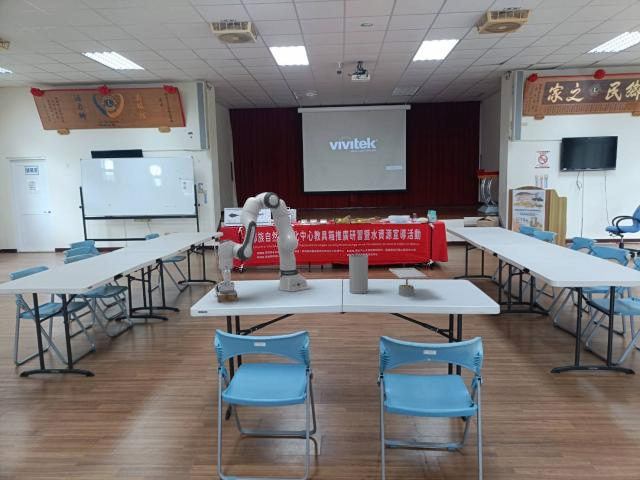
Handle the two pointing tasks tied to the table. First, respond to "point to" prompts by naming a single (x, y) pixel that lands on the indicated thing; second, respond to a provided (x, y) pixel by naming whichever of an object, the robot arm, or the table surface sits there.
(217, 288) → the hinge
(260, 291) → the table surface
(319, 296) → the table surface
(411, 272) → the solar panel model
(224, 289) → the block
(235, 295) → the stand
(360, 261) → the cylinder vase
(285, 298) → the table surface
